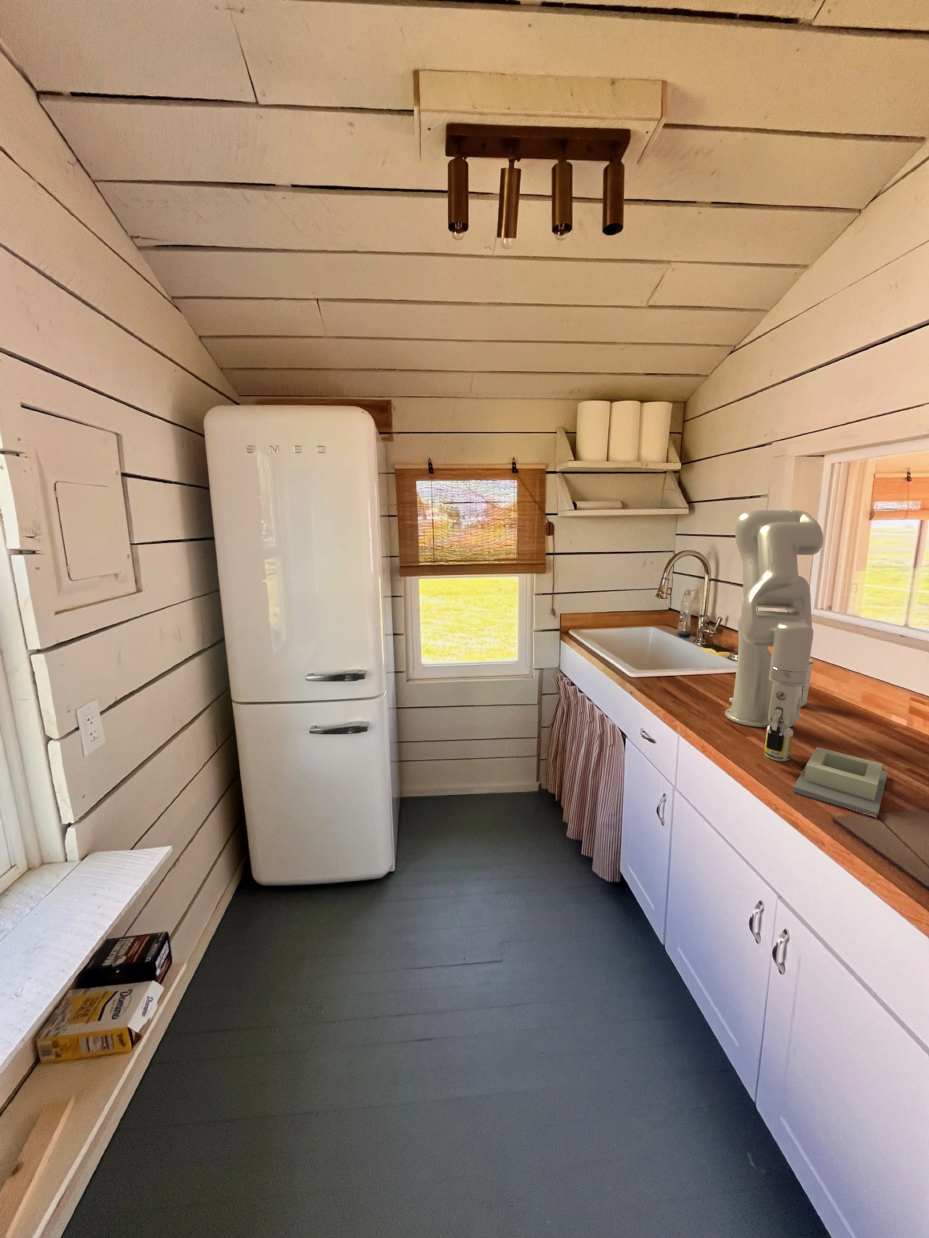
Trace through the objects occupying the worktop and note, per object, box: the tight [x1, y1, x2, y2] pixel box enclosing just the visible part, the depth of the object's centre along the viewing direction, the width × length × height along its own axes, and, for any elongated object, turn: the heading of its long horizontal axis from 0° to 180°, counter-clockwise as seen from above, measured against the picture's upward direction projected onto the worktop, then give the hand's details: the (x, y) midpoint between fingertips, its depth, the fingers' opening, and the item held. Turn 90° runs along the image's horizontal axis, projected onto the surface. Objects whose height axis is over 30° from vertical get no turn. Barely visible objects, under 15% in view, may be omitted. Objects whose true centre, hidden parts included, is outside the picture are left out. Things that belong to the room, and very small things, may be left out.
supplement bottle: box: [764, 721, 794, 762], centre depth 122 cm, size 5×5×10 cm
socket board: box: [792, 746, 889, 816], centre depth 110 cm, size 22×14×5 cm, turn 137°
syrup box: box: [800, 659, 814, 708], centre depth 157 cm, size 6×6×14 cm
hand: (778, 743), depth 122 cm, fingers open, 9 cm apart
